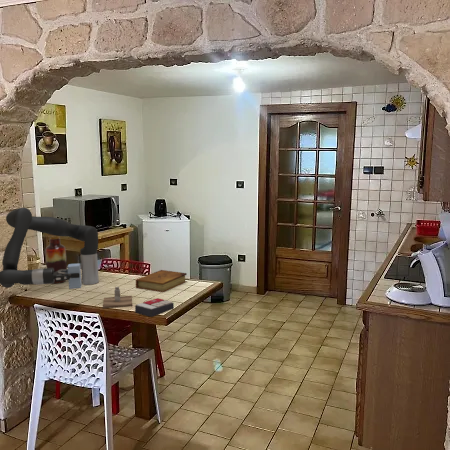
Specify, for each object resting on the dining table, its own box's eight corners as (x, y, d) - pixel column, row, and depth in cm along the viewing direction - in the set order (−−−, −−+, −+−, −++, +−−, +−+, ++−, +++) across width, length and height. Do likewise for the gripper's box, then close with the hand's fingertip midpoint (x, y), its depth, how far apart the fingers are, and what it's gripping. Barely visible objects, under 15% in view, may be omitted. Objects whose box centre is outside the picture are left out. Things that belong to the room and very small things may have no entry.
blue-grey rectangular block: (70, 285, 228) (68, 264, 226) (81, 284, 229) (80, 263, 227) (69, 289, 223) (67, 266, 221) (80, 288, 224) (79, 266, 222)
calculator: (174, 301, 222) (151, 308, 210) (173, 310, 222) (151, 317, 210) (157, 297, 228) (134, 303, 217) (157, 305, 229) (134, 312, 217)
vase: (71, 279, 275) (68, 236, 271) (60, 284, 265) (57, 240, 261) (55, 278, 278) (52, 235, 274) (43, 283, 267) (40, 239, 263)
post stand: (103, 299, 236) (103, 284, 235) (131, 297, 239) (131, 282, 238) (102, 308, 223) (101, 292, 222) (132, 306, 226) (131, 290, 225)
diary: (160, 279, 277) (160, 269, 276) (186, 282, 268) (186, 273, 267) (135, 288, 257) (135, 278, 256) (163, 293, 248) (163, 282, 247)
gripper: (40, 272, 214) (78, 269, 218) (45, 265, 228) (80, 262, 232) (41, 288, 215) (79, 285, 219) (46, 279, 229) (81, 277, 233)
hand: (79, 273), depth 225 cm, fingers closed on blue-grey rectangular block, 5 cm apart
